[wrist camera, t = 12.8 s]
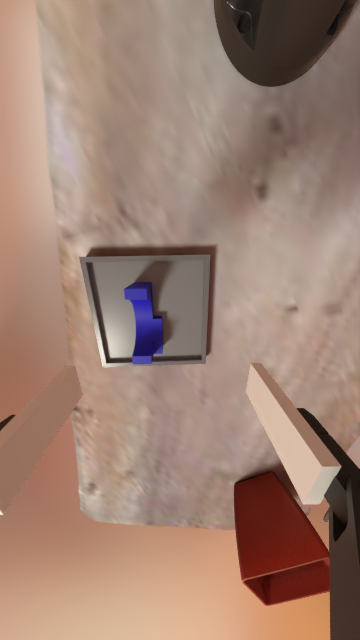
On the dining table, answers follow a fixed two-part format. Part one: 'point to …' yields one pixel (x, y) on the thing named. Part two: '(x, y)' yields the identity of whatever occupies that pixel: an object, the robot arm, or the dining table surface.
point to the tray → (168, 301)
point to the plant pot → (277, 543)
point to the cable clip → (145, 323)
